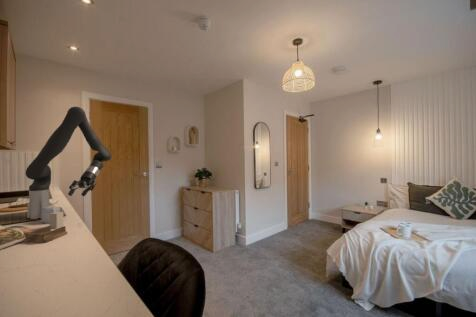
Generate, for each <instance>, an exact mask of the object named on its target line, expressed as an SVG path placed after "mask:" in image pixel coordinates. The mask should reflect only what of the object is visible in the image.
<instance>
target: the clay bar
mask: <svg viewBox="0 0 476 317" xmlns="http://www.w3.org/2000/svg"><path fill="white" fill-rule="evenodd" d="M49 226H51V230H55V229H58V228H61V227H63V226H64V211H60V212H53V213H50V223H49Z"/></svg>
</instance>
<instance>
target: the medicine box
mask: <svg viewBox="0 0 476 317" xmlns="http://www.w3.org/2000/svg"><path fill="white" fill-rule="evenodd" d="M53 212H61V206H52V205H51V206H50V205H49V206H48V207H44V208H41V214H42V218H41V223H45V224H50V213H53Z"/></svg>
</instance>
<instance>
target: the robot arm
mask: <svg viewBox="0 0 476 317" xmlns="http://www.w3.org/2000/svg"><path fill="white" fill-rule="evenodd" d="M66 112H67V113H66V115H65V116H64V118H63V120H62V122H61V123H60V125H59V126H58V127H57V128H56V129H55V130H54V131H53V132H52V134H51V135H50V136H49V138H48V139H47V141H46V143H45V144H44V146H43V147H42V148H41V150H40V151H39V153H38V155H36V156H35V158H34V159H33V160H32V161H31V163H30V164H29V165H28V166H27V167H26V169H25V177H27V179H29V180H33V182H32V183H31V184H30V185H29V187H28V202H27V203H26V204H27V205H26V207H27V213H26V214H27V215H26V216H27V218H30V219H29V220H38V218H40V219H42V214H41V208H44V207H48V206H50V186H51V183H52V169H51V167H50V166H49V164H50V163H51V162H52V160H53V159H55V158H56V157H57V156H58V155H60V154H61V153H62V152H63V151H64V150H65V148H66V147H67V145H68V144H69V142H70V140H71V138H72V137H73V134H74V132H75V130H76V129H77V128H79V130H80V131H81V133H82V135H83V137H84V139H85V140H86V143H87V144H88V145H89V147H90V148H91V149H90V150H92V151H96V153H95V154H94V155H93V158H92V161H91V163H90V165H88V167H87V168H86V169H85V170H84V172H83V173H82V175H81V176H80V178H79V180H78V181H77V180H73V182H72V183H71V184H69V186H68V188H69V189H70V190H69V191H68V193H67V196H69V197H72V196H73V195H74V193H75V192H76V191H77V190H80V189H83V191H82V192H81V196H82V197H85V196H87V194H88V193H89V192H91V191H93V190H94V189H95V187H96V184H97V182H96V179H97V177H98V176H99V174H100V172H101V170H102V169H103V168H104V163H103V162H108V161H111V159H112V154H111V151H109V149H108V148H107V147H106V146H105V145H104V144H103V143H102V142H101V140H100V138H99V137H98V135H97V133H96V132H95V130H94V129H93V127H92V126H91V125H90V122H89V121H88V118H87V114H86V111H85V110H84V109H83V108H82V107H80V106H71V107H70V108H69V109H68V110H67V111H66Z"/></svg>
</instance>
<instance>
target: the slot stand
mask: <svg viewBox="0 0 476 317" xmlns="http://www.w3.org/2000/svg"><path fill="white" fill-rule="evenodd" d="M66 227H67V226H64V225H63V227H60V228H57V229H51V226H50V225H47V226H44V227H41V228H39V229H35V230H33V231H30V232H27V233H25V238H24V239H23V243H38V244H39V243H41V244H42V243H44V244H48V243H49V242H52V241H54V240H57V239H58V238H62V237H63V236H66V235H67V234H68V231H66Z"/></svg>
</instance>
